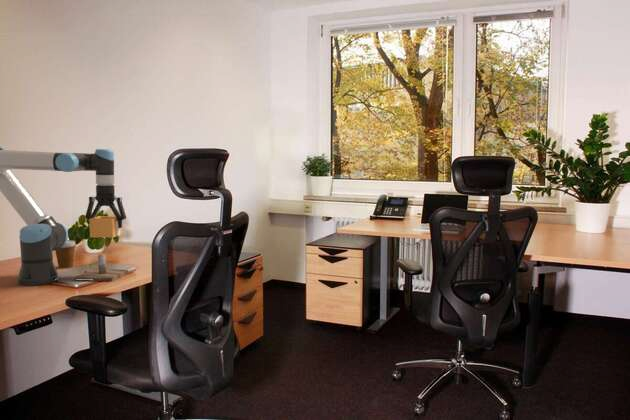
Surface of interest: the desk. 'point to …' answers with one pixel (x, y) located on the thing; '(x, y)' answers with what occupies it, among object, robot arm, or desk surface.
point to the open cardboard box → (103, 226)
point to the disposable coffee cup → (66, 254)
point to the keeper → (103, 272)
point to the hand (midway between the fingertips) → (106, 235)
